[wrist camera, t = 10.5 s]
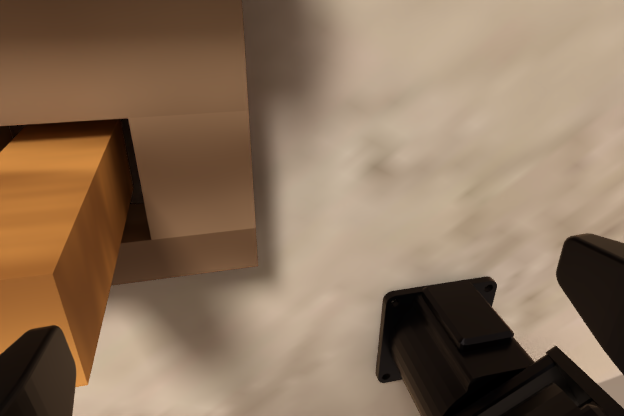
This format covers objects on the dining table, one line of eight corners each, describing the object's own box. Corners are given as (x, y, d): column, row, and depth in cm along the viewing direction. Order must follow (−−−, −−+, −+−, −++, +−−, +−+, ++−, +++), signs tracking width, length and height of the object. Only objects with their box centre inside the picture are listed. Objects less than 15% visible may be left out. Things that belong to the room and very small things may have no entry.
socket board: (260, 226, 21) (288, 331, 15) (-69, 263, 18) (-189, 409, 12) (232, -282, 13) (268, -475, 7) (-361, -347, 10) (-1080, -742, 4)
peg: (133, 187, 19) (87, 384, 10) (52, 194, 18) (-70, 410, 9) (119, 115, 17) (52, 273, 9) (30, 119, 17) (-136, 295, 8)
